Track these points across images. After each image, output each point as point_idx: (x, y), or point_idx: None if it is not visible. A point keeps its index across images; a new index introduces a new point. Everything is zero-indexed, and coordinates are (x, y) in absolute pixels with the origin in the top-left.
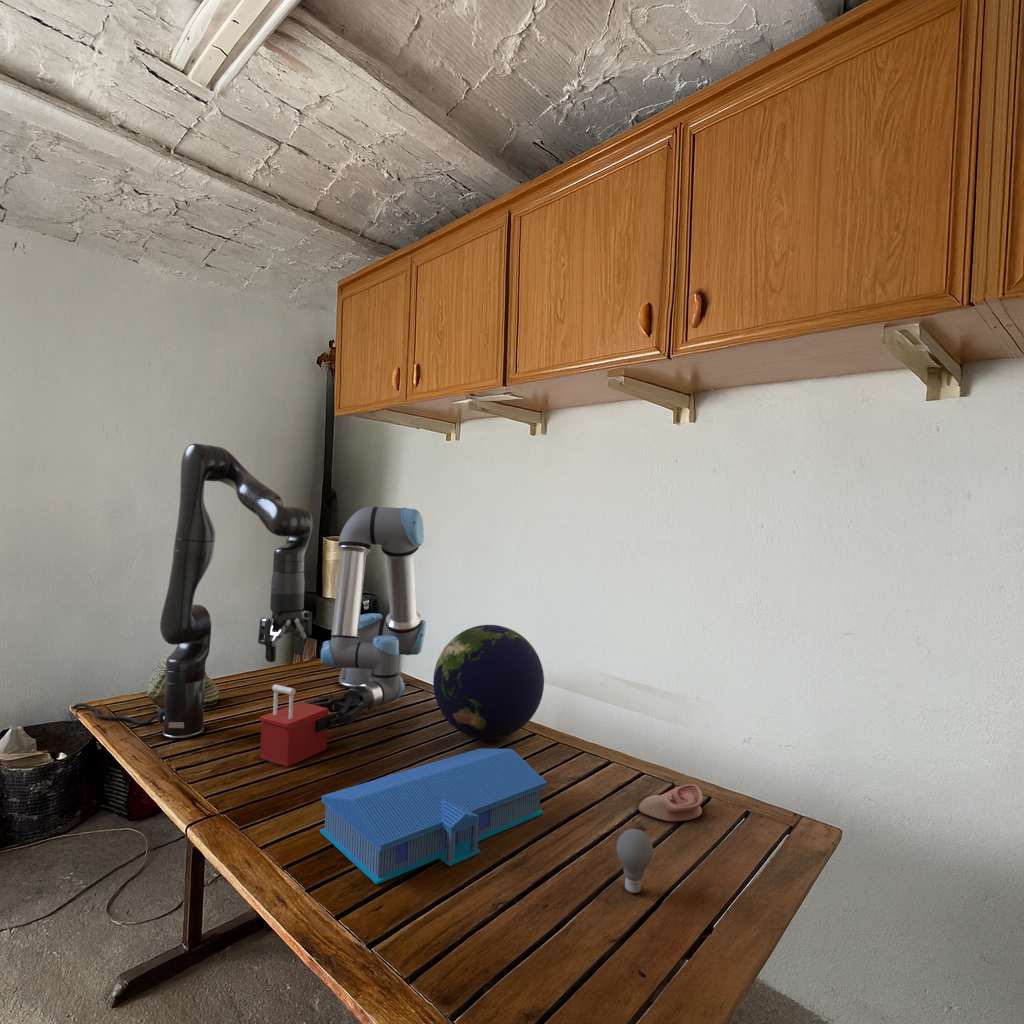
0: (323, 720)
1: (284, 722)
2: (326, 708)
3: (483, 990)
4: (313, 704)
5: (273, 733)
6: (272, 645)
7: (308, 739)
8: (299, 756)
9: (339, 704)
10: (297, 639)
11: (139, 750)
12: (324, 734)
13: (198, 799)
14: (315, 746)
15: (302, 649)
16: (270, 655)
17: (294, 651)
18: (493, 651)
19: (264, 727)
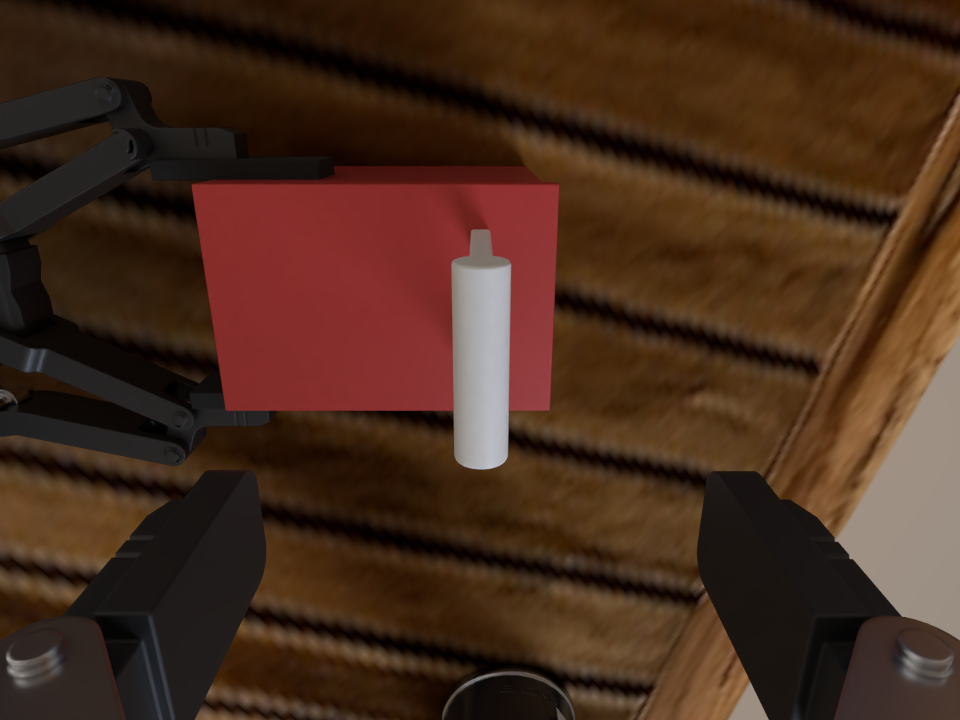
0: (272, 159)
1: (547, 221)
2: (200, 194)
3: None
4: (141, 398)
5: None
6: (938, 635)
7: (389, 172)
8: (453, 167)
9: (14, 292)
10: (163, 704)
11: (683, 699)
12: None
13: (914, 229)
14: (346, 168)
15: (195, 504)
16: (820, 542)
17: (257, 587)
18: None
19: None
